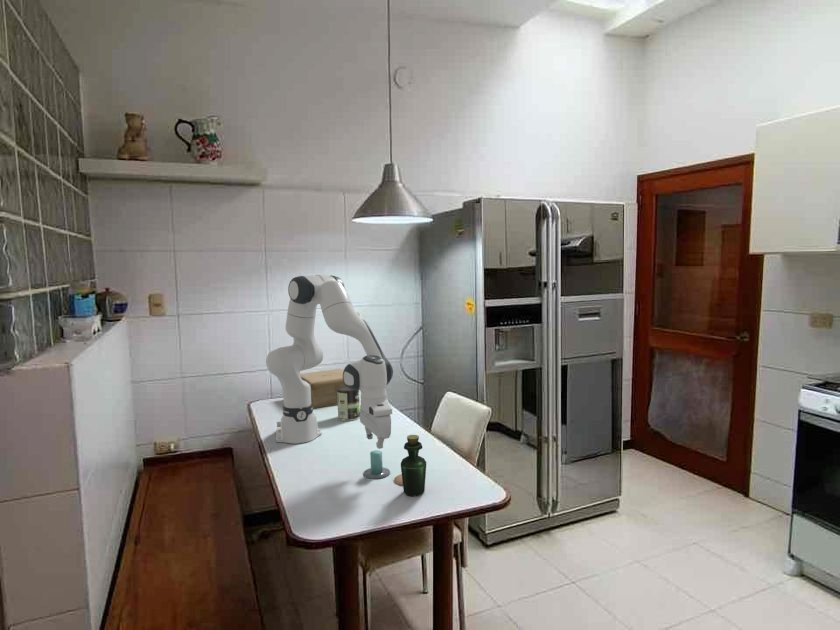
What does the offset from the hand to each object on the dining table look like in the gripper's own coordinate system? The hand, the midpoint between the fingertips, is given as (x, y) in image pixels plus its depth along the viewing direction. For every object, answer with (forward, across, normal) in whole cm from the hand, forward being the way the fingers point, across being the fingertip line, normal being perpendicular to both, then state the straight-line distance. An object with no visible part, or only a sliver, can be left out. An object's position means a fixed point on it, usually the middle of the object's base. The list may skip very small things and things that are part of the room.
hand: (374, 443), depth 177 cm
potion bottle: (+10, +20, +6) cm, 23 cm away
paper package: (+13, -100, +12) cm, 102 cm away
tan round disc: (+10, +11, +8) cm, 17 cm away
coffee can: (+12, -64, +12) cm, 67 cm away
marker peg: (+10, 0, 0) cm, 10 cm away
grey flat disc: (+11, +1, 0) cm, 11 cm away
